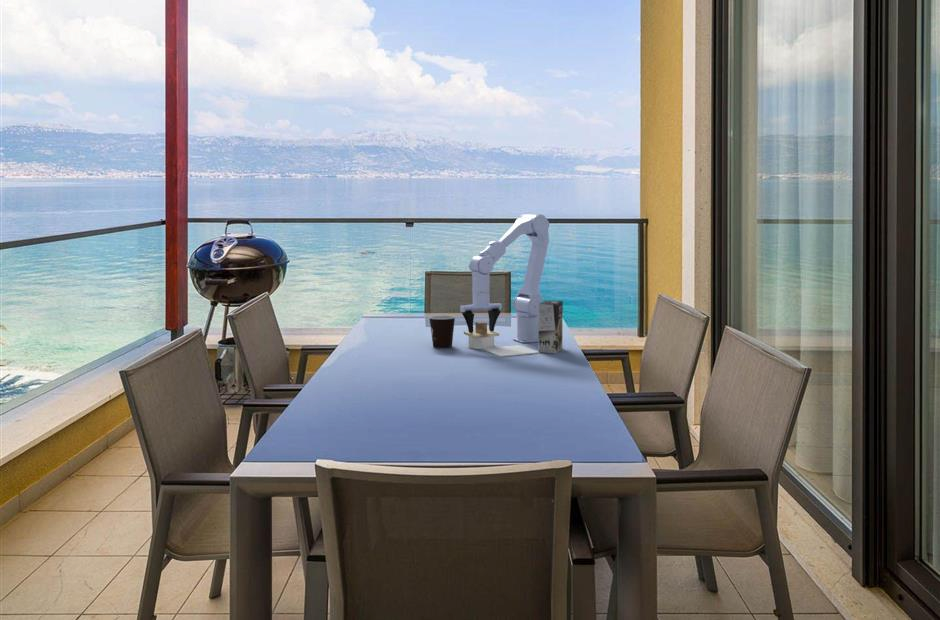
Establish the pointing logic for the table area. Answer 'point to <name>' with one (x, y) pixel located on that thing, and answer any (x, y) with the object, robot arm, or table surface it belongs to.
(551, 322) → the coffee box
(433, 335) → the coffee mug
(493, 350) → the mat
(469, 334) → the cover
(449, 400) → the table surface
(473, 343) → the bowl
